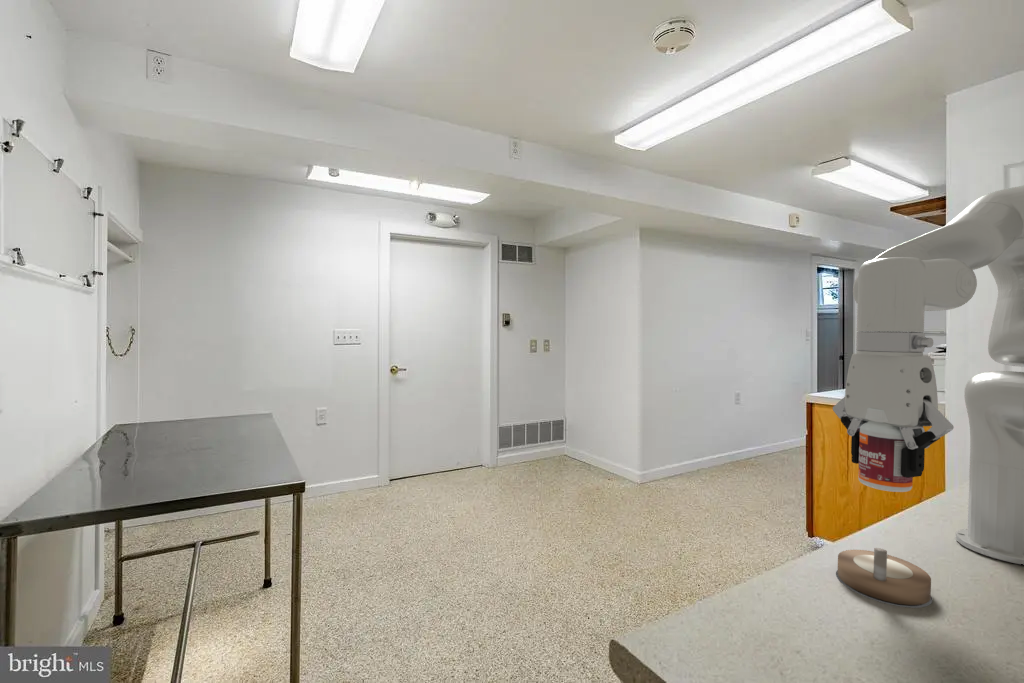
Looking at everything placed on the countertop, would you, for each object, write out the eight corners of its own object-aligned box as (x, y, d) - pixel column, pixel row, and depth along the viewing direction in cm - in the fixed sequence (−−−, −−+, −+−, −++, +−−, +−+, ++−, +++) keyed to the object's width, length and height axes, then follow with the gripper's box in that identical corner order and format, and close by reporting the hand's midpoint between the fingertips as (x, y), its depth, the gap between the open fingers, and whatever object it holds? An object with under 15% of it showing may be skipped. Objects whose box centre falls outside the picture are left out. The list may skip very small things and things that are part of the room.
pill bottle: (847, 480, 70) (849, 405, 70) (879, 478, 72) (881, 404, 71) (890, 494, 64) (892, 412, 64) (924, 491, 66) (926, 410, 65)
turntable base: (870, 571, 75) (870, 561, 75) (952, 610, 65) (952, 599, 65) (817, 581, 72) (818, 571, 72) (895, 624, 61) (895, 613, 61)
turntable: (842, 558, 76) (843, 518, 76) (930, 582, 69) (932, 538, 68) (832, 584, 68) (833, 540, 68) (930, 614, 61) (932, 565, 61)
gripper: (981, 347, 60) (976, 486, 61) (849, 343, 77) (846, 452, 77) (941, 347, 58) (936, 491, 58) (814, 343, 75) (811, 455, 75)
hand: (885, 467), depth 68 cm, fingers closed on pill bottle, 6 cm apart
